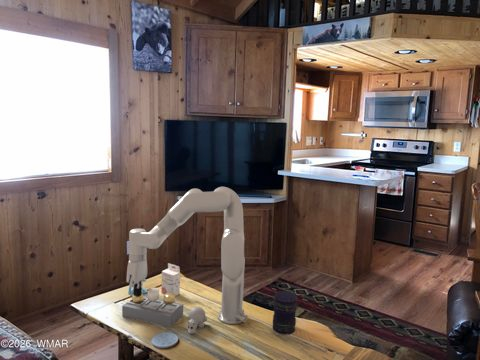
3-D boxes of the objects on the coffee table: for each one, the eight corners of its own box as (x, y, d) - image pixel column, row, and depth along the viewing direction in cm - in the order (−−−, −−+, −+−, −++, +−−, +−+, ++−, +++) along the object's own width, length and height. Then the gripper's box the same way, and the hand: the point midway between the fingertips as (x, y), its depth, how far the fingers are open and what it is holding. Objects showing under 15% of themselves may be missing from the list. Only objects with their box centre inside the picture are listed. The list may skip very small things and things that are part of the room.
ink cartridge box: (160, 292, 191) (161, 265, 189) (167, 289, 195) (168, 262, 193) (173, 297, 187) (173, 269, 185) (180, 293, 191) (180, 266, 189)
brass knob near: (176, 300, 167) (177, 294, 166) (171, 305, 162) (171, 298, 161) (166, 298, 168) (167, 292, 168) (161, 303, 163) (161, 296, 163)
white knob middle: (161, 297, 169) (161, 288, 168) (155, 301, 164) (155, 293, 164) (151, 295, 171) (151, 286, 170) (145, 299, 166) (145, 291, 165)
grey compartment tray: (183, 314, 171) (183, 302, 170) (170, 327, 159) (170, 315, 158) (137, 304, 178) (137, 293, 177) (122, 316, 167) (122, 304, 166)
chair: (125, 292, 191) (125, 269, 189) (140, 287, 196) (140, 265, 194) (132, 297, 185) (132, 274, 183) (148, 292, 190) (148, 270, 189)
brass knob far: (145, 300, 172) (145, 294, 171) (139, 304, 167) (139, 298, 167) (136, 298, 173) (136, 292, 173) (129, 302, 169) (129, 296, 168)
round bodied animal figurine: (182, 337, 157) (178, 323, 153) (195, 315, 166) (191, 301, 162) (197, 341, 154) (194, 327, 150) (209, 318, 164) (206, 304, 160)
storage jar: (267, 327, 163) (269, 294, 161) (283, 320, 169) (285, 289, 167) (284, 337, 155) (286, 303, 153) (300, 330, 161) (302, 297, 159)
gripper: (140, 250, 175) (139, 287, 178) (120, 260, 161) (120, 300, 164) (154, 252, 173) (153, 290, 176) (135, 263, 159) (135, 304, 162)
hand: (137, 295), depth 170 cm, fingers closed
